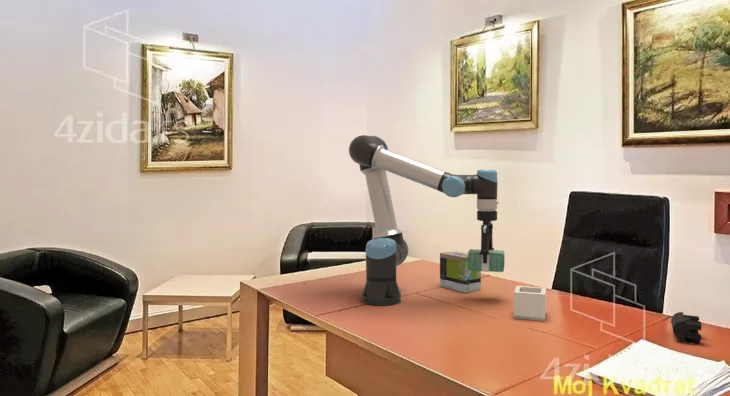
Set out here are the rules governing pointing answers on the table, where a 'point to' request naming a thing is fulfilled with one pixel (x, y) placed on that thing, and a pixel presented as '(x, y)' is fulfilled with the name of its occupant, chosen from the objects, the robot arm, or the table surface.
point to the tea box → (458, 272)
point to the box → (494, 260)
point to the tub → (530, 303)
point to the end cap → (686, 328)
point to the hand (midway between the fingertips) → (486, 269)
